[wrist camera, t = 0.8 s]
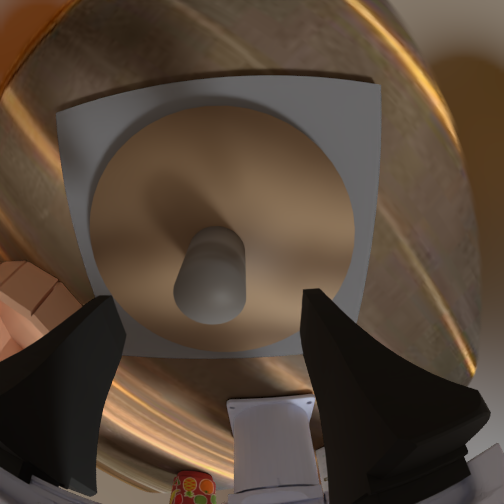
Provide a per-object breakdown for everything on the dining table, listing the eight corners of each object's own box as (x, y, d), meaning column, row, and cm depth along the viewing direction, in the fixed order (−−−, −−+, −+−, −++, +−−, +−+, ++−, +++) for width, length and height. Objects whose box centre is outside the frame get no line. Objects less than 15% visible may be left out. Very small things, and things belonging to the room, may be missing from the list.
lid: (334, 336, 19) (352, 388, 15) (130, 342, 19) (111, 391, 14) (355, 107, 12) (403, 106, 8) (77, 131, 12) (22, 142, 8)
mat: (348, 343, 20) (350, 348, 20) (121, 350, 20) (119, 355, 19) (376, 85, 12) (380, 84, 12) (60, 112, 12) (55, 113, 11)
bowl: (123, 382, 22) (112, 416, 18) (30, 365, 22) (16, 389, 18) (69, 258, 16) (39, 290, 12) (-22, 263, 16) (-47, 285, 12)
